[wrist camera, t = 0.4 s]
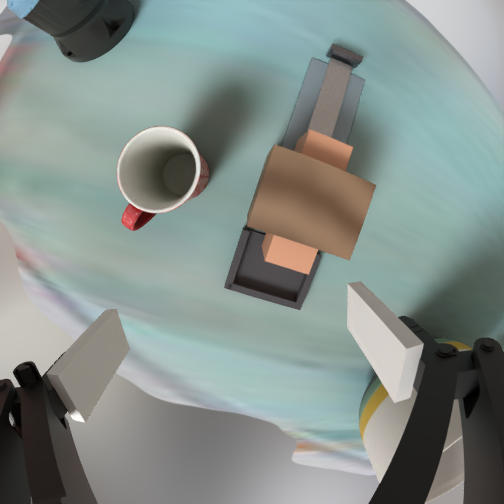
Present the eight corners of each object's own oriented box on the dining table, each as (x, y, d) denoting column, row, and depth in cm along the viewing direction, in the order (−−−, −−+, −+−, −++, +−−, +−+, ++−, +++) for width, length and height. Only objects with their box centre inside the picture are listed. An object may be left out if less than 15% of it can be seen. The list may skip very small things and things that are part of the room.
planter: (437, 291, 44) (535, 361, 18) (458, 370, 49) (517, 435, 23) (322, 373, 47) (365, 494, 21) (369, 433, 52) (404, 517, 26)
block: (297, 257, 41) (308, 274, 33) (261, 246, 40) (264, 260, 32) (333, 153, 37) (353, 147, 29) (297, 139, 37) (309, 129, 29)
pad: (336, 174, 39) (336, 174, 39) (279, 152, 38) (279, 152, 38) (364, 80, 35) (364, 80, 35) (311, 58, 35) (312, 57, 35)
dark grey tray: (298, 305, 44) (300, 310, 42) (225, 283, 43) (224, 287, 41) (318, 252, 42) (321, 255, 40) (243, 227, 41) (242, 229, 39)
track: (299, 242, 41) (302, 246, 39) (267, 232, 41) (268, 235, 38) (356, 63, 35) (362, 57, 32) (327, 51, 34) (332, 43, 31)
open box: (323, 240, 41) (349, 260, 30) (247, 214, 40) (247, 226, 29) (343, 184, 39) (376, 185, 28) (267, 155, 38) (274, 144, 27)
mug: (182, 131, 37) (153, 109, 24) (228, 169, 39) (219, 161, 26) (131, 198, 40) (85, 205, 26) (174, 235, 41) (143, 258, 28)
